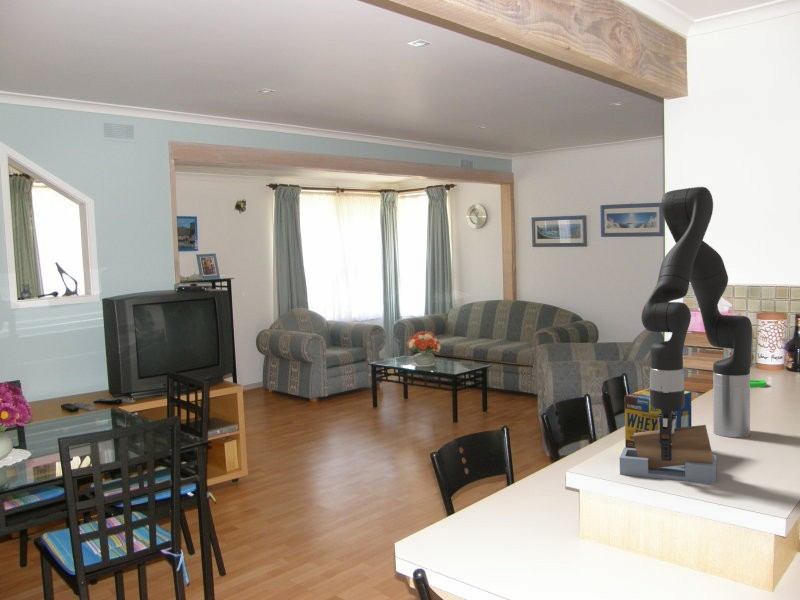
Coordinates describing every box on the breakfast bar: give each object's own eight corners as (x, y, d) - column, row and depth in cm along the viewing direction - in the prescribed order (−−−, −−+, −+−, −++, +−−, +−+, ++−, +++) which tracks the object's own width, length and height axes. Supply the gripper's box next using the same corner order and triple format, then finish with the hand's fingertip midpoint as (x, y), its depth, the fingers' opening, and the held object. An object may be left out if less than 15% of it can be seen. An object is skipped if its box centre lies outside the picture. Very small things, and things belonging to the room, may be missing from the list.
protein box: (624, 454, 175) (623, 395, 174) (655, 441, 185) (655, 385, 184) (662, 463, 167) (661, 401, 166) (693, 449, 177) (692, 390, 176)
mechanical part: (733, 388, 246) (733, 367, 246) (728, 385, 252) (728, 364, 252) (768, 388, 244) (768, 366, 243) (763, 385, 250) (763, 364, 249)
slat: (642, 465, 163) (634, 432, 163) (713, 458, 156) (705, 424, 156) (640, 469, 160) (632, 436, 161) (713, 462, 153) (704, 427, 153)
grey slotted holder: (624, 463, 168) (624, 447, 167) (716, 472, 159) (716, 455, 159) (619, 474, 160) (619, 457, 160) (715, 483, 151) (715, 466, 151)
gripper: (652, 380, 166) (653, 445, 167) (646, 392, 153) (647, 462, 154) (685, 381, 163) (686, 448, 164) (682, 394, 150) (683, 465, 151)
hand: (667, 455), depth 159 cm, fingers open, 8 cm apart
